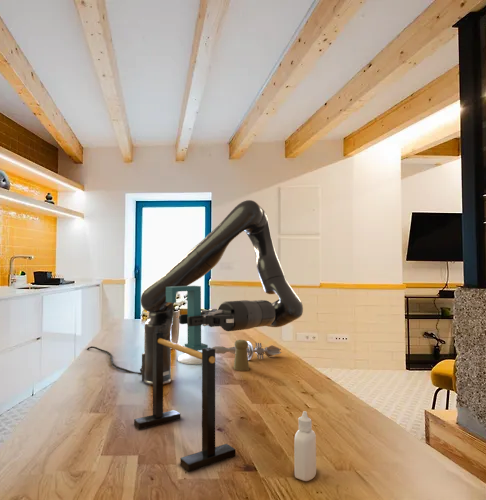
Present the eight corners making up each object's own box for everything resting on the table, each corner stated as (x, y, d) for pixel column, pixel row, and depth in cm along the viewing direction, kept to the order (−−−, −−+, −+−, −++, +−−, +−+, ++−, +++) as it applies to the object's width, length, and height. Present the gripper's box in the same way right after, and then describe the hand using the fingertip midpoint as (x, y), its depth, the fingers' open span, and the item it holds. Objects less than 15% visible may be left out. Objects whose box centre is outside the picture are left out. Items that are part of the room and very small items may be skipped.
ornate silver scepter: (205, 341, 158) (215, 337, 152) (273, 344, 172) (284, 340, 165) (207, 361, 155) (217, 358, 148) (276, 361, 168) (287, 358, 162)
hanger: (198, 346, 93) (197, 285, 94) (207, 349, 90) (207, 286, 90) (164, 350, 88) (164, 286, 89) (173, 354, 85) (173, 287, 85)
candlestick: (171, 361, 157) (172, 289, 158) (188, 355, 168) (188, 287, 169) (198, 365, 150) (198, 290, 151) (213, 359, 161) (213, 288, 162)
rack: (174, 415, 101) (174, 329, 102) (235, 456, 80) (235, 347, 80) (134, 425, 95) (134, 333, 96) (188, 472, 73) (188, 353, 74)
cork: (249, 371, 143) (249, 342, 143) (233, 370, 144) (233, 341, 145) (249, 366, 149) (249, 338, 149) (233, 366, 150) (233, 338, 151)
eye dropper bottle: (286, 471, 74) (285, 409, 74) (309, 466, 76) (309, 405, 76) (301, 483, 70) (300, 418, 70) (325, 477, 72) (324, 414, 72)
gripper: (222, 298, 104) (168, 302, 95) (258, 303, 92) (201, 307, 83) (222, 325, 103) (168, 331, 95) (259, 333, 91) (201, 341, 83)
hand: (184, 320), depth 89 cm, fingers closed on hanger, 3 cm apart
